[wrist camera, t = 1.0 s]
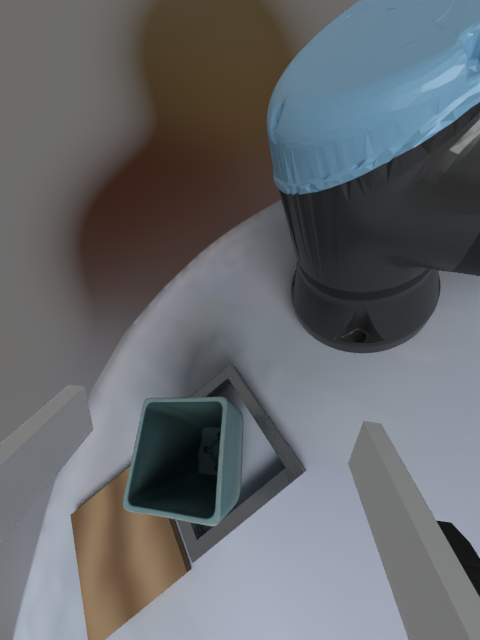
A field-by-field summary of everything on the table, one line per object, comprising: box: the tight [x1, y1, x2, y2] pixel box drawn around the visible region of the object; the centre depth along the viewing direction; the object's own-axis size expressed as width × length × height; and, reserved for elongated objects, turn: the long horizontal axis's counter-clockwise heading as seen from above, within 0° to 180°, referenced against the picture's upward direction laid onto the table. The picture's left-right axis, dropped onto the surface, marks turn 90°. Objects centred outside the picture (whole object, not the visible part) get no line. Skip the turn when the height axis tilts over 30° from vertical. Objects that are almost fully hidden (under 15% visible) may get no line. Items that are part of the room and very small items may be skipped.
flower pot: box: [123, 397, 243, 526], centre depth 24 cm, size 9×9×9 cm
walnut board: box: [71, 467, 191, 640], centre depth 27 cm, size 12×12×1 cm
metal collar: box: [177, 364, 306, 563], centre depth 27 cm, size 13×13×2 cm
